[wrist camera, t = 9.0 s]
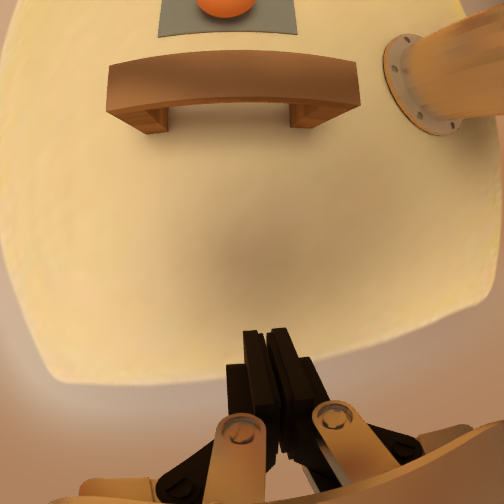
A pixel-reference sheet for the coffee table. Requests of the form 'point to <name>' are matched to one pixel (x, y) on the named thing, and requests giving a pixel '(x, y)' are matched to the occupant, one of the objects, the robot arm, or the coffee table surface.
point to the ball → (225, 7)
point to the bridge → (231, 85)
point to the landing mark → (254, 20)
